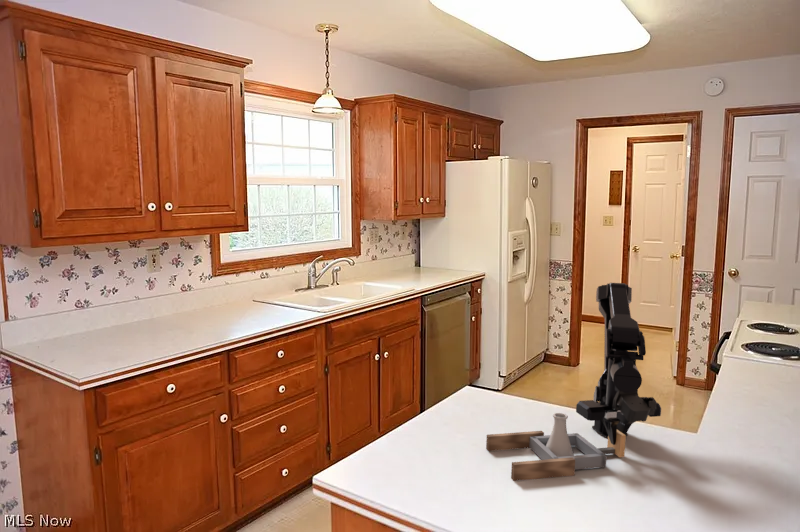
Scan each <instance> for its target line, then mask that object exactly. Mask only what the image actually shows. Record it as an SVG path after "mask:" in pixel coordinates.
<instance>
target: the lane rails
mask: <svg viewBox="0 0 800 532" xmlns="http://www.w3.org/2000/svg"><path fill="white" fill-rule="evenodd" d="M532 436H545V432H544V431H542V430H535V431H534V430H533V431H519V432H508V433H507V432H505V433H493V434H486V441H485V442H486V444H485V446H486V447H485V449H486V451H487V452H492V451H494V452H495V451H505V450H506V451H508V450H518V449H520V450H521V449H531V448H530V447H529V443H530V437H532ZM510 470H511V472H510V474H511V475H510V479H511V480H512V482H516V481H517V482H518V481H525V480H526V481H527V480H537V479H548V478H560V477H561V478H562V477H573V476H575V474H576V473H575V471H576V470H575V459H574V458H573V457H570V458H558V459H547V460H542V459H539V460H538V459H537V460H525V461H523V460H522V461H515V462H513V461H512V462H511V469H510Z"/></svg>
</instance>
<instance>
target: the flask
mask: <svg viewBox="0 0 800 532" xmlns="http://www.w3.org/2000/svg"><path fill="white" fill-rule="evenodd" d="M552 417H553V426H552V431H551V434H549V435H550V438H549V440H548V442H547V444H546V447H547V448H548V449H549V450H550V451H551V452H552V453H553V454H554V455H556V456H557V457H564V456H575V454H574V450H573V448H572V446H571V445H570V441H569V438H568V434H569V433H568V430H567V429H568V428H567V420H568V417H569V416H568V415H567V414H566V413H562V412H554V414H553V415H552Z"/></svg>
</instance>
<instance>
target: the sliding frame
mask: <svg viewBox="0 0 800 532" xmlns="http://www.w3.org/2000/svg"><path fill="white" fill-rule="evenodd" d="M567 434H568V438H569V441H570V445H571V447H576V448H577V449H578V450H580V451H581V452H582V453H583V454H578V455H576V454H575V455H574V456H564V457H557V456H556V455H554V454H553V453H552V452H551V451H550V450H549V449H548V448H547V447H546V444H547V442H548V440H549V438H550V435H551V434H548V435H544V436H532V437H530V443H529V447H530V448H529V449H530V450H531V451H533V452H534V454H536V455H537V457H539V458H540V460H547V459H558V458H570V457H573V458H574V459H575V471H576V470H585V469H596V468H605V467H607V455H613V454H614V455H615V456H616V457H618V458H625V453H626V438H627V436H626V435H625V434H623V433H622V432H620V431H619V430H617V434H616V443H615V445H613V444H612V443H611V441H610V439H609V436H608V437H607V447H598V448H597V447H596V446H595V445H593V443H591V442H590V441H588V440H587V439H586V438H585V437H583V436H582V435H580V434H579V433H578V432H576V433H574V432H573V433H567Z"/></svg>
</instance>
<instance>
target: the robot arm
mask: <svg viewBox="0 0 800 532" xmlns="http://www.w3.org/2000/svg"><path fill="white" fill-rule="evenodd" d="M632 288H633V287H630V286H629V284H627V283H622V282H609V283H607V284H601V285H599V286H597V288H596V295H595V299H596V300H595V302H597V303H598V311H599V312H600V314H601V315H602V317H603V319H604V347H603V348H604V356H603V357H604V364H603V366H604V368H603V369H604V370H603V371H604V372H603V373H602V374H601V375H600V377H599V379H598V381H597V385H596V386H595V389H594V392H593V399H589V400H588V399H586V400H579V401H578V402H577V403H576V405H575V412H576V413H577V414H578V415H580V416H582V417H583V418H584V419H585V420H587V421H590V422H591V421H592V422H593V421H594V424H593V425H592V426H591V429H593V430H594V431H596V432H597V433H598V434H600V435H601V436H603V438H608V436H609V439H610V441H611V443H612V444H613V445H615V443H616V434H617V430H619V431H620V432H622V433H623V434H625V435H626V437H627V436H628V435H629V433H628V431H629V429H630V428H631V426H632V425H633V424H634V423H636V422H646V421H647V420H648V417H651V418H655V417H661V416H662V407H661V405H660V403H659V402H657V400H656V399H655V398H654V397H653V396H648V397H647V396H640V395H639V391H638V390H639V388H640V387H641V386H642V383H643V378H642V375H641V373H640V371H639V370H638V367H637V361H644V356H646V339H645V336H644V332H642V331H641V330H640V327H639V323H638V321H636V320H635V319H633V317H632V316H631V315H632V314H631V309H630V304H631V303H632V297H633V296H632V295H633V294H632V292H633V290H632Z"/></svg>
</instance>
